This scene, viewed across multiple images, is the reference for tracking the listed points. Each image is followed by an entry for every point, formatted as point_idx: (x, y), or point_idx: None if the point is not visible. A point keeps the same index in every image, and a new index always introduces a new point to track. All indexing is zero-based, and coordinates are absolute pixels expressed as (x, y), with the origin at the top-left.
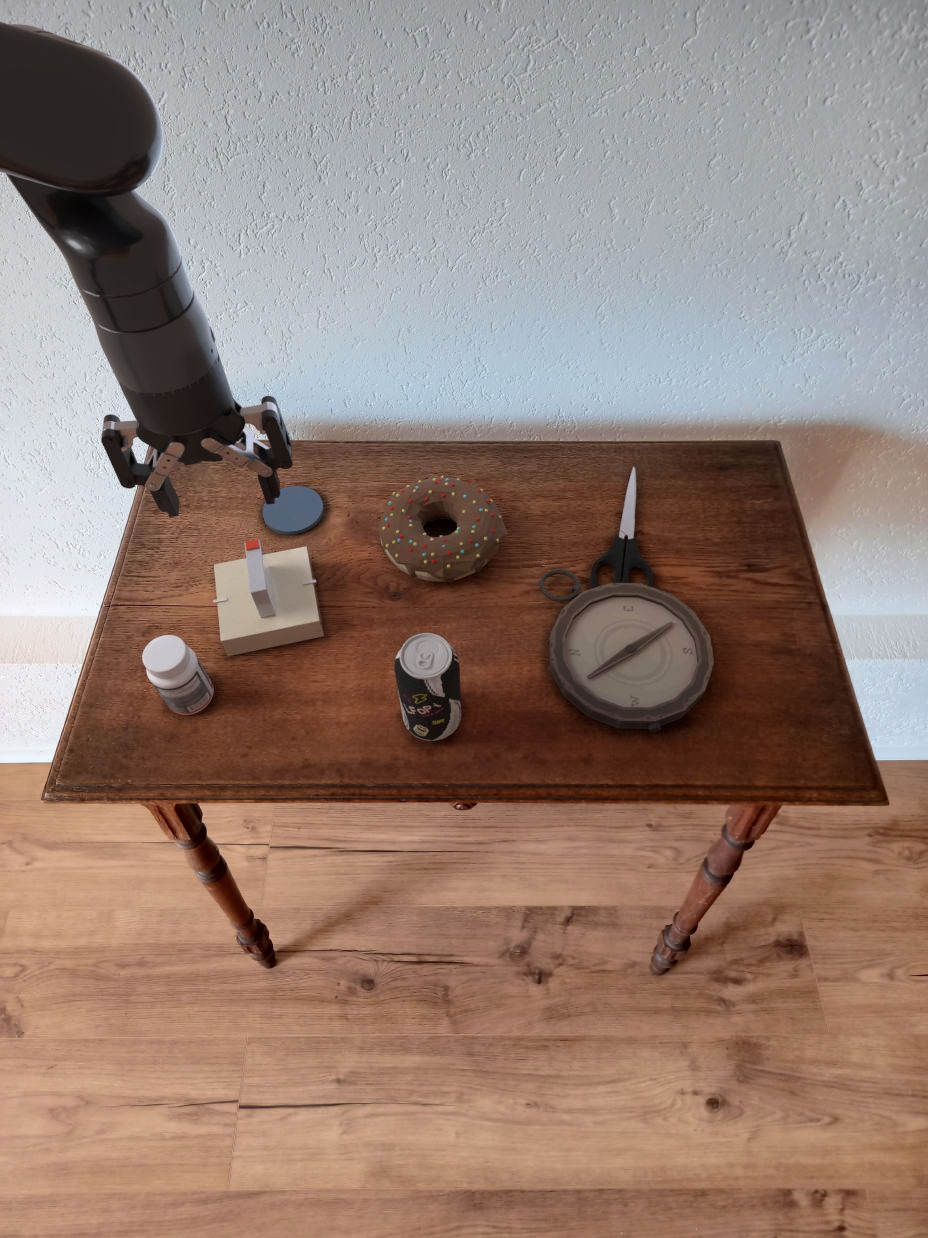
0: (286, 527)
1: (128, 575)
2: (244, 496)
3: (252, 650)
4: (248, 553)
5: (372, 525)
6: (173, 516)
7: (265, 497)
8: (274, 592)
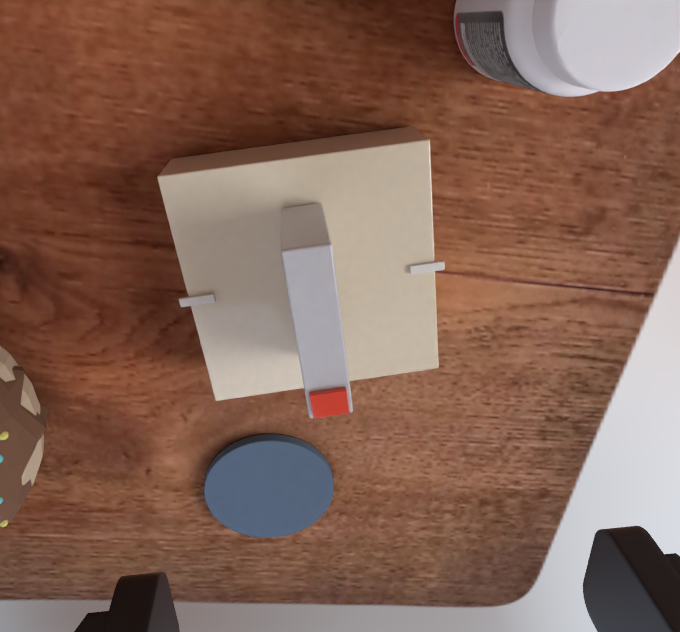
0: (280, 450)
1: (613, 362)
2: (372, 518)
3: (352, 134)
4: (340, 377)
5: (89, 445)
6: (624, 528)
7: (142, 626)
8: None
